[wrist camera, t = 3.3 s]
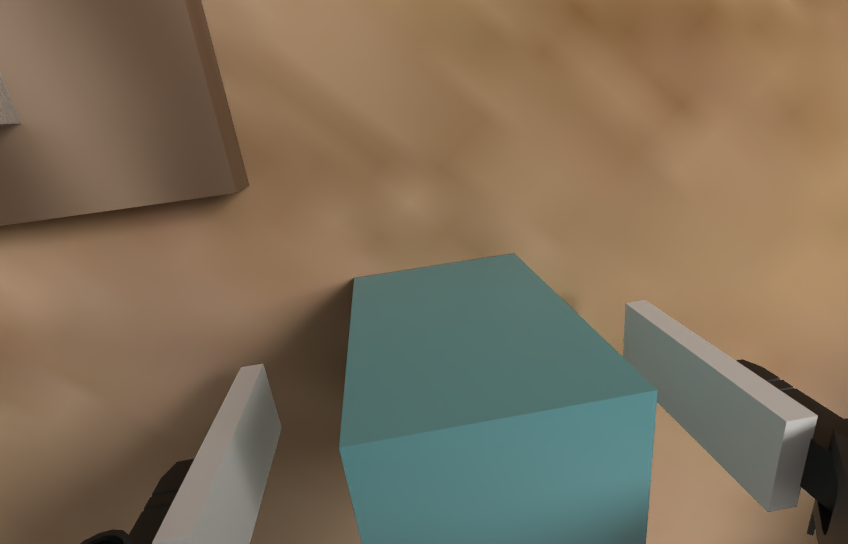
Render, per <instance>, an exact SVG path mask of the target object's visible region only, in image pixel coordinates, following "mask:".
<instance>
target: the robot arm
mask: <svg viewBox="0 0 848 544" xmlns="http://www.w3.org/2000/svg"><path fill="white" fill-rule="evenodd" d="M623 358H624V359H626V360H627V361H628V362H629V363H630V364H631V365H632V366H633V367H634V368H635V369H636V370H637V371H638V372H639V373H640V374H641V375H642V376H643V377H644V378H645V379H646V380H648V381H649V382H650V383H651V384H652V385H653V386H654V387H655V388H656V389H657V390H658V392H657V402H658V403H659V404H660V405H661V406H662V407H663V408H664V409H665V410H666V411H667V412H668V413H669V414H670V415H671V416H672V417H673V418H674V419H675V420H676V421H677V422H678V423H679V424H680V425H681V426H682V427H683V428H684V429H685V430H686V431H687V432H688V433H689V434H690V435H691V436H692V437H693V438H694V439H695V440H696V441H697V442H698V443H699V444H700V445H701V446H702V447H703V448H704V449H705V450H706V451H707V452H708V453H709V454H710V455H711V456H712V457H713V458H714V459H715V460H716V461H717V462H718V463H719V464H720V465H721V466H722V467H723V468H724V469H725V470H726V471H727V472H728V473H729V474H730V475H731V476H732V477H733V478H734V479H735V480H736V481H737V482H738V483H739V484H740V485H741V486H742V487H743V488H744V489H745V490H746V491H747V492H748V493H749V494H750V495H751V496H752V497H753V498H754V499H755V500H756V501H757V502H758V503H759V504H760V505H761V506H762V507H763V508H764V509H765V510H766V511H767V512H771V511H776V510H781V509H786V508H791V507H796V506H797V503H798V499H799V494H800V490H801V487H802V488H803V489H804V490H806V491H807V492H808V493H809V494H810V495H811V496H813V497H814V498H815V503H814V507H813V511H812V515H811V519H810V522H809V526H808V531H807V534H809V535H813V534H814V530H815V529H816V534H817V540H818V544H848V419H843V418H841V417H840V416H838V415H837V414H835V413H833V412H832V411H830V410H829V409H827V408H826V407H824V406H822V405H821V404H819V403H818V402H816V401H815V400H813V399H812V398H810V397H808V396H807V395H805V394H804V393H802V392H801V391H799V390H798V389H794V388H793V386H791V385H790V384H788V383H787V382H785V381H784V380H780V379H779V377H777V376H776V375H774V374H773V373H771V372H769V371H768V370H766V369H765V368H763V367H761V366H758V365H756V364H753V363H750V362H748V361H745V360H743V359H742V360H734V359H733V358H731V357H730V356H728V355H727V354H725V353H724V352H722V351H721V350H719V349H718V348H716V347H715V346H713V345H712V344H710V343H709V342H707V341H706V340H704V339H703V338H701V337H700V336H698V335H697V334H695V333H694V332H692V331H691V330H689V329H688V328H686V327H685V326H683V325H682V324H681V323H679V322H678V321H676V320H675V319H673V318H672V317H670V316H669V315H667V314H666V313H664V312H663V311H661V310H660V309H658V308H657V307H655V306H654V305H652V304H651V303H649V302H648V301H646V300H642V301H636V302H630V303H625V326H624V349H623ZM281 429H282V426H281V423H280V419H279V416H278V413H277V409H276V406H275V402H274V399H273V395H272V392H271V388H270V385H269V382H268V378H267V375H266V371H265V368H264V364H258V365H252V366H246V367H241V368H240V370H239V372H238V374H237V376H236V378H235V380H234V382H233V384H232V386H231V388H230V390H229V392H228V394H227V396H226V398H225V400H224V402H223V404H222V406H221V408H220V409H219V411H218V413H217V415H216V417H215V419H214V421H213V423H212V425H211V427H210V429H209V431H208V433H207V435H206V437H205V439H204V441H203V443H202V445H201V447H200V449H199V451H198V453H197V455H196V457H195V459H191V460H185V461H180V462H177V463H176V464H175V465H174V466H173V467H172V468H171V469H170V470H169V471H168V472H167V473H166V474H165V475H164V476H163V477H162V478H161V480H160V481H159V483H158V485H157V487H156V488H155V490H154V492H153V494H152V497H151V498H150V499H149V501H148V502H147V504H146V506H145V508H144V511H143V512H142V513H141V515H140V516H139V518H138V520H137V522H136V523H135V525H134V527H133V529H132V530H131V532H130V534H129V535H128V534H127V533H126V532H124V531H123V530H109V531H106V532H102V533H99V534H97V535H95V536H93V537H91V538H89V539H87V540H85V541H83V542H82V543H81V544H250V541H251V538H252V534H253V531H254V527H255V523H256V520H257V516H258V512H259V509H260V505H261V502H262V498H263V494H264V491H265V487H266V484H267V480H268V476H269V473H270V469H271V465H272V462H273V458H274V455H275V451H276V447H277V444H278V440H279V437H280V433H281Z"/></svg>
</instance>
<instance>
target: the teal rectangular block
mask: <svg viewBox="0 0 848 544" xmlns="http://www.w3.org/2000/svg"><path fill="white" fill-rule="evenodd" d="M657 392H658V390H657V389H656V388H655V387H654V386H653V385H652V384H651V383H650V382H649V381H648V380H646V379H645V378H644V377H643V376H642V375H641V374H640V373H639V372H638V371H637V370H636V369H635V368H634V367H633V366H632V365H631V364H630V363H629V362H628V361H627V360H626V359H624V358H623V357H622V356H621V355H620V354H619V353H618V352H617V351H616V350H615V349H614V348H613V347H612V346H611V345H610V344H609V343H608V342H607V341H606V340H605V339H604V338H602V337H601V336H600V335H599V334H598V333H597V332H596V331H595V330H594V329H593V328H592V327H591V326H590V325H589V324H588V323H587V322H586V321H585V320H584V319H583V318H582V317H580V316H579V315H578V314H577V313H576V312H575V311H574V310H573V309H572V308H571V307H570V306H569V305H568V304H567V303H566V302H565V301H564V300H563V299H562V298H561V297H560V296H558V295H557V294H556V293H555V292H554V291H553V290H552V289H551V288H550V287H549V286H548V285H547V284H546V283H545V282H544V281H543V280H542V279H541V278H540V277H539V276H538V275H536V274H535V273H534V272H533V271H532V270H531V269H530V268H529V267H528V266H527V265H526V264H525V263H524V262H523V261H522V260H521V259H520V258H519V257H518V256H517V255H516V254H514V253H513V254H507V255H500V256H494V257H487V258H481V259H475V260H468V261H462V262H455V263H449V264H442V265H436V266H430V267H423V268H417V269H410V270H404V271H397V272H391V273H385V274H378V275H372V276H365V277H359V278H354V286H353V297H352V308H351V319H350V330H349V342H348V353H347V364H346V375H345V386H344V398H343V409H342V420H341V431H340V442H339V450H340V454H341V459H342V463H343V467H344V471H345V475H346V479H347V484H348V488H349V492H350V496H351V500H352V505H353V509H354V513H355V517H356V521H357V526H358V530H359V534H360V538H361V542H362V544H646V534H647V521H648V508H649V495H650V482H651V469H652V456H653V443H654V430H655V417H656V404H657Z"/></svg>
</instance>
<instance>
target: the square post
mask: <svg viewBox="0 0 848 544" xmlns="http://www.w3.org/2000/svg"><path fill="white" fill-rule="evenodd" d="M13 124H21V121H20V118H19V116H18V114H17V111H16V109H15V106H14V104H13V102H12V99H11V97H10V95H9V92H8V90H7V87H6V85H5V83H4V80H3V78H2V76H1V73H0V126H5V125H13Z"/></svg>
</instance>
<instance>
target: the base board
mask: <svg viewBox="0 0 848 544" xmlns="http://www.w3.org/2000/svg"><path fill="white" fill-rule="evenodd" d="M0 73H1V76H2V78H3V80H4V83H5V85H6V87H7V90H8V92H9V95H10V97H11V99H12V102H13V104H14V106H15V109H16V111H17V114H18V116H19V118H20V121H21V124H13V125H5V126H0V226H4V225H11V224H18V223H25V222H32V221H39V220H47V219H54V218H61V217H68V216H75V215H82V214H90V213H97V212H104V211H111V210H118V209H125V208H133V207H140V206H147V205H154V204H161V203H168V202H176V201H183V200H190V199H197V198H204V197H211V196H219V195H226V194H233V193H238V192H239V191H241V190H243V189H244V188H246V187H248V186H249V183H248V179H247V176H246V172H245V168H244V164H243V160H242V156H241V153H240V149H239V145H238V141H237V137H236V133H235V129H234V126H233V122H232V118H231V114H230V110H229V106H228V103H227V99H226V95H225V91H224V87H223V83H222V79H221V76H220V72H219V68H218V64H217V60H216V56H215V53H214V49H213V45H212V41H211V37H210V33H209V29H208V26H207V22H206V18H205V14H204V10H203V6H202V3H201V0H0Z"/></svg>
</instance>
